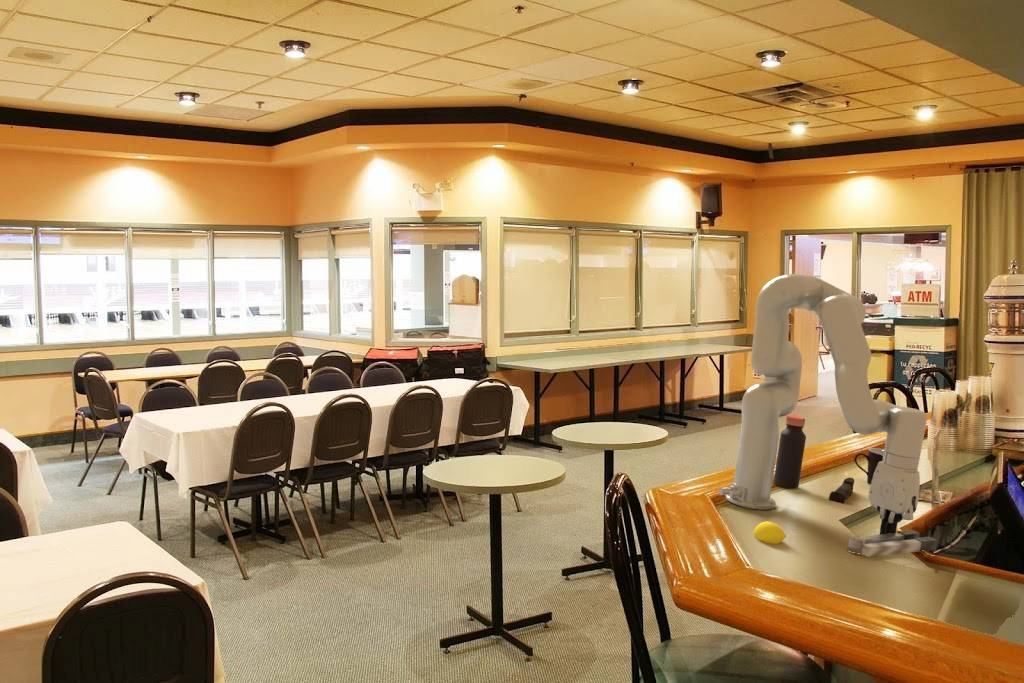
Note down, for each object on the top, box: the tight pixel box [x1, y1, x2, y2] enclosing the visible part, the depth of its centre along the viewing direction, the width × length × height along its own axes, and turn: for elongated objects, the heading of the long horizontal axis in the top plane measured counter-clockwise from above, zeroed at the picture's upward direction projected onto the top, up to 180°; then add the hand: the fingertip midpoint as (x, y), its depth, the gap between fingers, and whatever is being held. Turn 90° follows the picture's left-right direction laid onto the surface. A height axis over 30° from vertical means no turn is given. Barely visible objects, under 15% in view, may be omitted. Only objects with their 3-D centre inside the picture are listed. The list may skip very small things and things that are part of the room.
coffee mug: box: [853, 447, 884, 486], centre depth 245 cm, size 12×9×10 cm
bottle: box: [773, 414, 807, 490], centre depth 231 cm, size 7×7×20 cm
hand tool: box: [828, 477, 855, 505], centre depth 226 cm, size 19×4×5 cm, turn 144°
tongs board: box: [847, 536, 938, 558], centre depth 187 cm, size 28×20×4 cm
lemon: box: [753, 520, 787, 545], centre depth 181 cm, size 7×5×5 cm
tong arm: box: [857, 529, 921, 544], centre depth 186 cm, size 18×2×3 cm, turn 118°
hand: (886, 537), depth 190 cm, fingers closed
